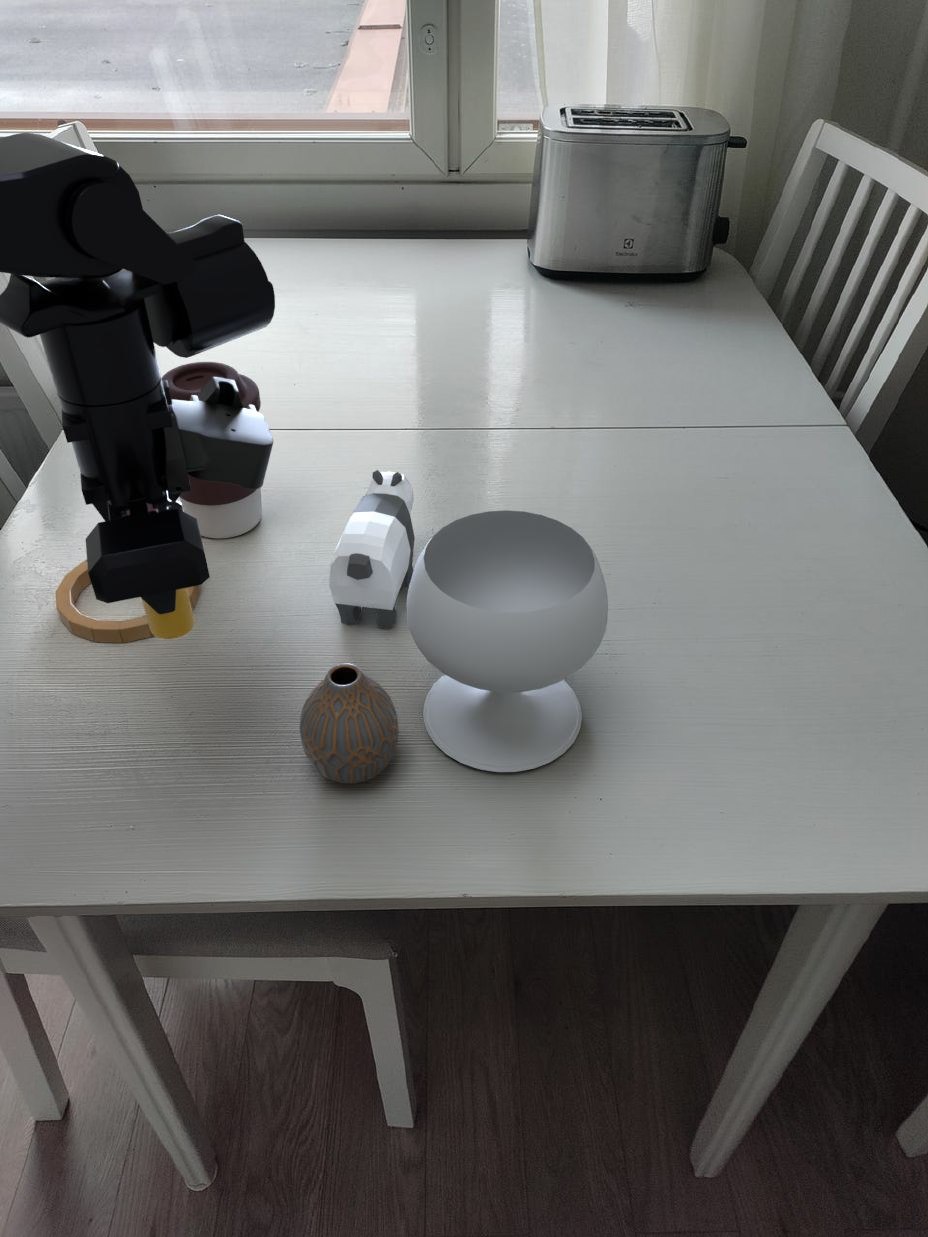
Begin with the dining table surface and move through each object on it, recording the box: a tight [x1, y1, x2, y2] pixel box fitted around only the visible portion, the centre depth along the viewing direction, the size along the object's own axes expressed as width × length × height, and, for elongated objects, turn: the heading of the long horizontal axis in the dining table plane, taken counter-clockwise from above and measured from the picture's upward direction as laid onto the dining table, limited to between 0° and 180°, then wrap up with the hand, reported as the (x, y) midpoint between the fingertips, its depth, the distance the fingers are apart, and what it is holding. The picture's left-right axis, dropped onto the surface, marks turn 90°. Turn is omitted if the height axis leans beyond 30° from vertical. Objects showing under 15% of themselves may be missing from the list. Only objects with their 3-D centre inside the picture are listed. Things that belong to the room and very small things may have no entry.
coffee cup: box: [161, 361, 263, 539], centre depth 89 cm, size 10×10×15 cm
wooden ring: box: [55, 559, 201, 644], centre depth 84 cm, size 12×12×2 cm
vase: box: [299, 662, 399, 785], centre depth 67 cm, size 7×7×9 cm
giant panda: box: [329, 469, 416, 630], centre depth 83 cm, size 15×6×10 cm, turn 170°
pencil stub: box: [127, 504, 196, 640], centre depth 63 cm, size 3×3×9 cm
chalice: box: [406, 509, 609, 773], centre depth 69 cm, size 14×14×15 cm
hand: (164, 597), depth 64 cm, fingers closed on pencil stub, 3 cm apart
